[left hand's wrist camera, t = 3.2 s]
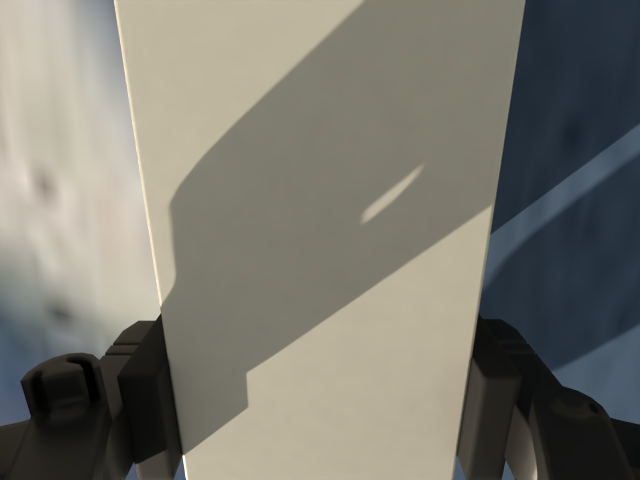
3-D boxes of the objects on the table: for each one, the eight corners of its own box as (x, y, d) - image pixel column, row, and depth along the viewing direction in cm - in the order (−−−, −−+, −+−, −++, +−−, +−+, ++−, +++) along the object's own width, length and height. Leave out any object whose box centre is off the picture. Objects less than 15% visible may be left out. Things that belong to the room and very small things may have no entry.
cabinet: (233, -59, 15) (54, -365, 5) (405, -59, 15) (584, -365, 5) (256, 316, 21) (194, 543, 10) (382, 316, 21) (445, 542, 10)
